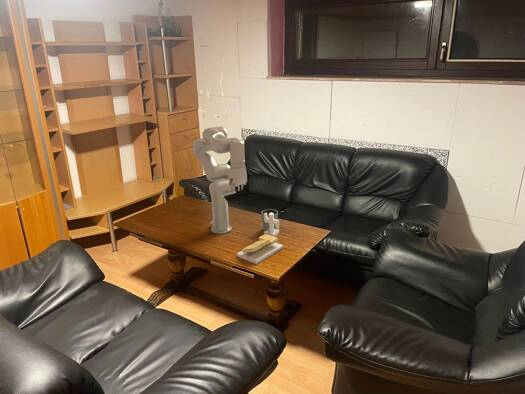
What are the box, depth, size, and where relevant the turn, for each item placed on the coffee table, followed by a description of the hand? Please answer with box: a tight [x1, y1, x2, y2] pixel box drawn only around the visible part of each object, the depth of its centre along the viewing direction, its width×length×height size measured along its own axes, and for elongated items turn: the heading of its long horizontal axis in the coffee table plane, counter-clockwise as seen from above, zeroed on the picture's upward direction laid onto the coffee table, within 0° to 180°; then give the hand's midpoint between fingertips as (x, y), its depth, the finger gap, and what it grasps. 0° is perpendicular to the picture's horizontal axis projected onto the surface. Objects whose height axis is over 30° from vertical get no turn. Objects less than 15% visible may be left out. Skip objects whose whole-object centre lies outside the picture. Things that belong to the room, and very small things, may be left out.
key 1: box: [258, 233, 279, 245], centre depth 217 cm, size 9×6×2 cm, turn 50°
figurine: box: [263, 213, 280, 237], centre depth 228 cm, size 7×9×15 cm
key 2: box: [250, 239, 270, 247], centre depth 212 cm, size 9×6×2 cm, turn 50°
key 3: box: [241, 244, 262, 253], centre depth 207 cm, size 9×6×2 cm, turn 50°
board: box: [236, 242, 285, 265], centre depth 213 cm, size 14×23×4 cm, turn 140°
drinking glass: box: [260, 208, 279, 232], centre depth 238 cm, size 10×10×12 cm
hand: (239, 196), depth 212 cm, fingers closed
